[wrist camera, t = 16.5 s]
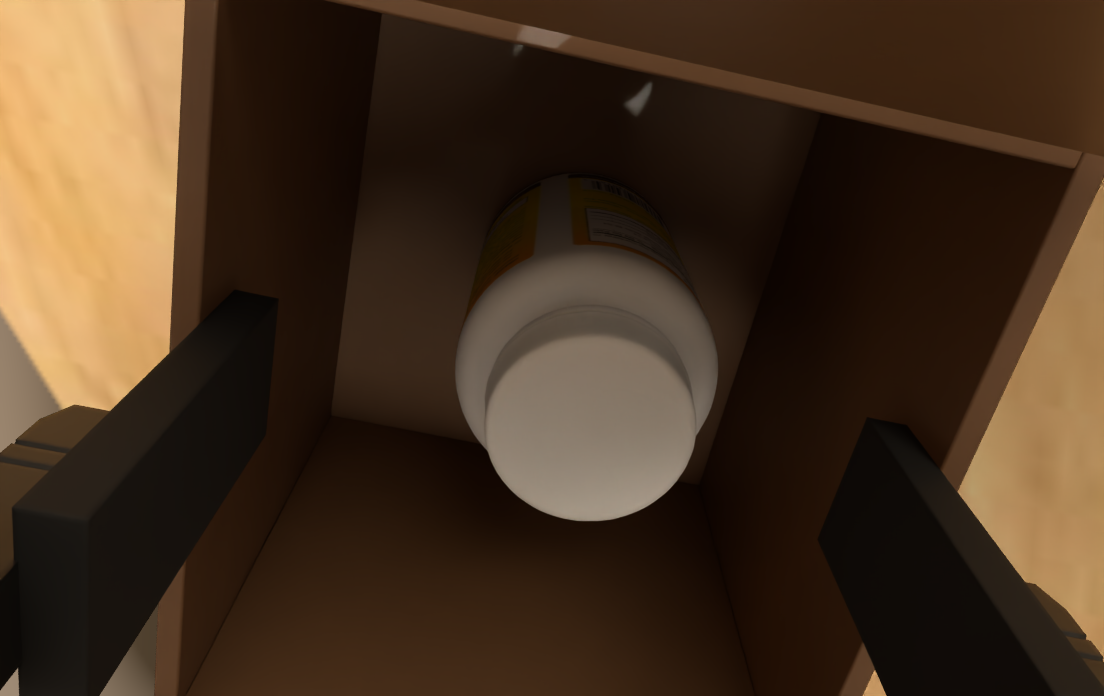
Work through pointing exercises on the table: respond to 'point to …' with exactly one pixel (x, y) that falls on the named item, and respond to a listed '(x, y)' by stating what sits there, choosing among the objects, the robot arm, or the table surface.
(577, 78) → the carton
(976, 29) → the flap
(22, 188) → the table surface
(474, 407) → the supplement bottle
